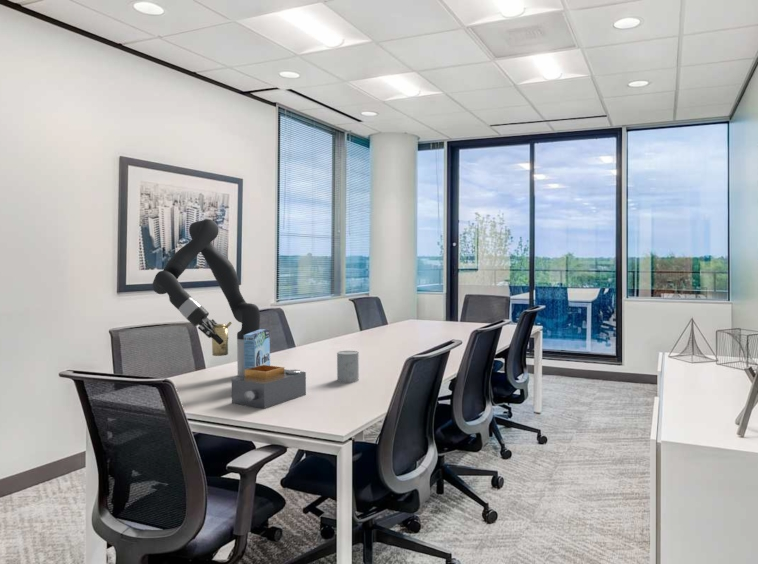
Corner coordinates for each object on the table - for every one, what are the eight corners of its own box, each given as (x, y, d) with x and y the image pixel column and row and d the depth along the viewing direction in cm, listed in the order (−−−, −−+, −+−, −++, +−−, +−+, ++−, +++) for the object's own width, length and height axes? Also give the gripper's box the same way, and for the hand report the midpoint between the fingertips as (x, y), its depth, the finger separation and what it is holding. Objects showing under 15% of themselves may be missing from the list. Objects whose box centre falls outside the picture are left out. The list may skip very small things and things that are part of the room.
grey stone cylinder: (362, 379, 251) (362, 351, 250) (352, 383, 242) (352, 355, 241) (343, 377, 255) (343, 350, 254) (333, 381, 246) (332, 353, 245)
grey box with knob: (274, 389, 230) (274, 361, 230) (305, 394, 222) (305, 365, 222) (225, 404, 207) (225, 373, 207) (258, 410, 199) (258, 378, 199)
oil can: (210, 355, 219) (209, 322, 218) (215, 353, 225) (214, 320, 224) (230, 355, 219) (229, 322, 218) (234, 353, 225) (233, 320, 224)
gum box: (255, 391, 228) (254, 335, 227) (243, 391, 228) (242, 335, 227) (271, 381, 247) (270, 329, 246) (259, 380, 248) (259, 328, 247)
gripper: (193, 306, 214) (225, 337, 214) (205, 303, 228) (235, 332, 228) (180, 320, 214) (212, 351, 214) (193, 316, 228) (223, 345, 229)
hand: (224, 341), depth 221 cm, fingers closed on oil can, 6 cm apart
